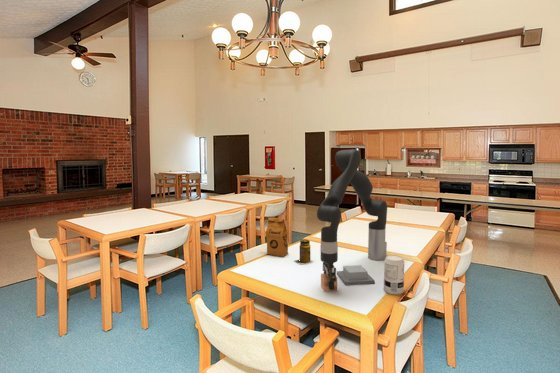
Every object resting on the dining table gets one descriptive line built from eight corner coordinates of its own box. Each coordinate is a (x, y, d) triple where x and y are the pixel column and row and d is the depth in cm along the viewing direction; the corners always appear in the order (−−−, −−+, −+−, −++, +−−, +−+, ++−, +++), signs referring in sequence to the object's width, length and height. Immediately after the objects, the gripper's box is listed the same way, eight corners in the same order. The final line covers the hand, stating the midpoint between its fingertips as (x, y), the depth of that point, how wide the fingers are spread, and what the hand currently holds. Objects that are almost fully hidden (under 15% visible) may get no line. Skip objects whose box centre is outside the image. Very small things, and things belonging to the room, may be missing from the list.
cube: (333, 285, 154) (333, 272, 154) (337, 290, 148) (337, 277, 148) (320, 286, 154) (320, 273, 153) (324, 291, 148) (324, 278, 147)
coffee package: (282, 258, 193) (281, 220, 191) (264, 255, 199) (263, 218, 197) (290, 253, 202) (290, 217, 199) (273, 250, 208) (272, 215, 205)
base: (363, 272, 169) (364, 263, 169) (374, 283, 155) (374, 273, 155) (336, 274, 168) (336, 264, 167) (345, 285, 154) (345, 274, 153)
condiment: (313, 261, 186) (313, 240, 185) (301, 265, 182) (301, 243, 180) (305, 258, 192) (305, 238, 191) (293, 261, 188) (293, 240, 186)
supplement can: (380, 287, 151) (381, 255, 149) (398, 287, 151) (399, 254, 150) (388, 295, 143) (388, 261, 141) (406, 294, 143) (407, 260, 141)
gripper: (341, 254, 142) (341, 291, 144) (333, 245, 156) (333, 278, 158) (324, 255, 142) (324, 292, 143) (317, 246, 156) (317, 279, 158)
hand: (329, 285), depth 151 cm, fingers open, 8 cm apart
